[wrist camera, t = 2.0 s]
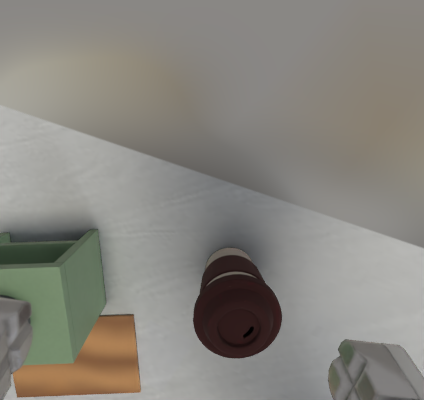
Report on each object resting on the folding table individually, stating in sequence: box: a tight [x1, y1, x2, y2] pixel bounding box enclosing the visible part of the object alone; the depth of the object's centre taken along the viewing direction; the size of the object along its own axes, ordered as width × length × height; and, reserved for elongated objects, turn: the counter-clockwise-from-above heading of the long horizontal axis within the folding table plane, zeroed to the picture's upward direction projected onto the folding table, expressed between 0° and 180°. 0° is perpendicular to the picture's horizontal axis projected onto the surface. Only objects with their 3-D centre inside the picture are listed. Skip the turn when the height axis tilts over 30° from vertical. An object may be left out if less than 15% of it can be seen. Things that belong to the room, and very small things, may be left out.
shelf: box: [0, 229, 106, 365], centre depth 43 cm, size 12×14×13 cm
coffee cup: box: [193, 248, 282, 358], centre depth 42 cm, size 10×10×15 cm
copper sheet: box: [13, 315, 141, 397], centre depth 52 cm, size 14×20×1 cm
